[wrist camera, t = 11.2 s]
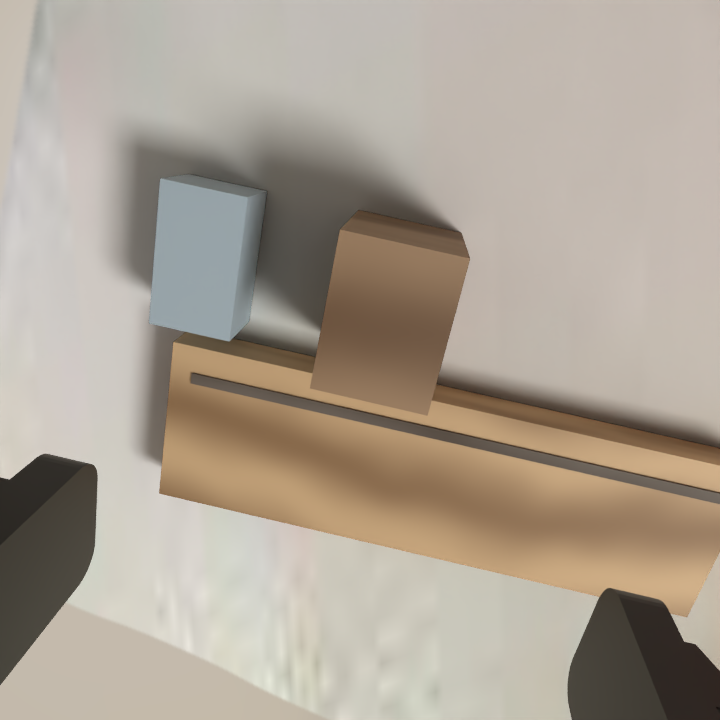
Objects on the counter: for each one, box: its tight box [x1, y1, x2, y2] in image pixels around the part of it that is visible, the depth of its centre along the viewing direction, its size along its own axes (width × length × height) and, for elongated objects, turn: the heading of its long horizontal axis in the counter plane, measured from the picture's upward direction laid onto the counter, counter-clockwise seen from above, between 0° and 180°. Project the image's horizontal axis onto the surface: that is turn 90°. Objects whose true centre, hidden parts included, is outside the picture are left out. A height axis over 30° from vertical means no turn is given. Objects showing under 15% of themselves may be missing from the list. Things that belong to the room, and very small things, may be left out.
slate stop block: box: [149, 174, 267, 341], centre depth 26 cm, size 6×4×3 cm, turn 169°
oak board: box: [159, 332, 720, 617], centre depth 29 cm, size 8×26×2 cm, turn 79°
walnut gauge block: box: [310, 210, 470, 416], centre depth 24 cm, size 6×4×6 cm
